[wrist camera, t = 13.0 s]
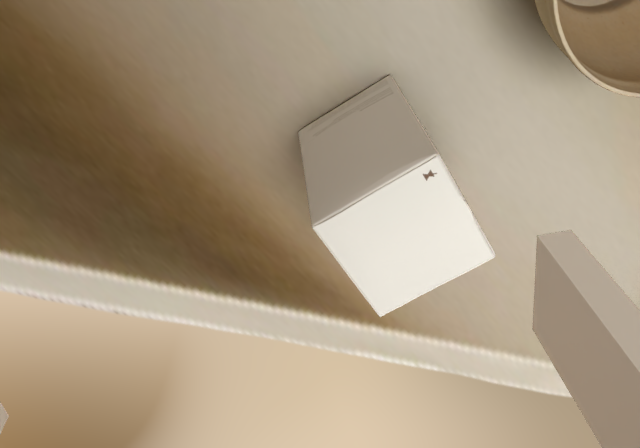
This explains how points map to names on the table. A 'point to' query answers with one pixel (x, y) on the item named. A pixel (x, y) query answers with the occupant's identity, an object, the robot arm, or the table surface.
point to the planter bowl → (598, 39)
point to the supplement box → (387, 199)
